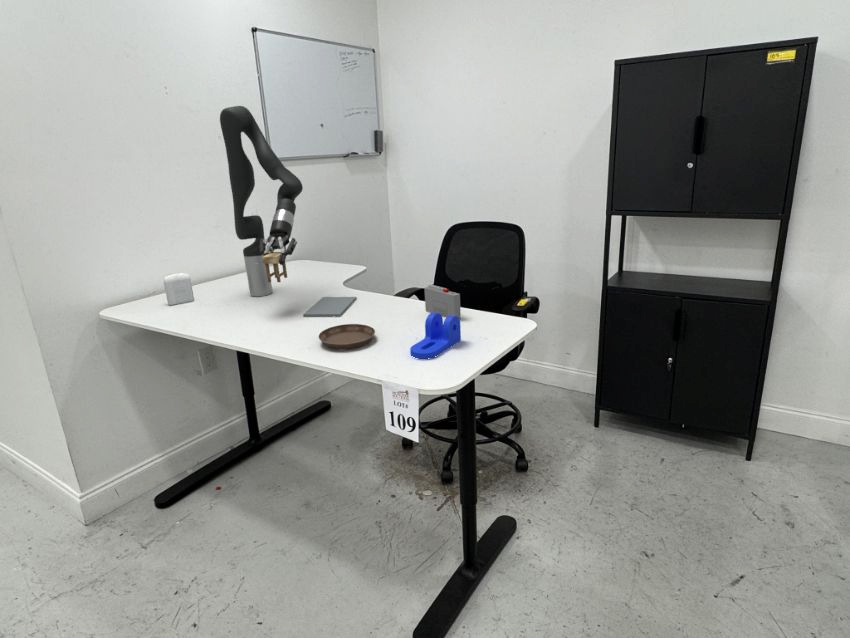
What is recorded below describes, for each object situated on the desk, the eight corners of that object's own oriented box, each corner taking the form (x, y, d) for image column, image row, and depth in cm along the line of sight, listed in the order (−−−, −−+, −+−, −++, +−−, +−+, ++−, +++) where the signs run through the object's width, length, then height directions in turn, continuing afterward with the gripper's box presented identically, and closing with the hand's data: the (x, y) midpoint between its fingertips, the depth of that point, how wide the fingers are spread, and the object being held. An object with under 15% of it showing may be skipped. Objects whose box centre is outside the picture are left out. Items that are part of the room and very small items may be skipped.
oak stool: (266, 282, 188) (262, 257, 185) (275, 276, 196) (272, 252, 193) (279, 282, 188) (276, 256, 184) (288, 276, 195) (285, 251, 192)
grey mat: (323, 299, 212) (323, 297, 212) (356, 299, 210) (356, 296, 210) (303, 316, 192) (303, 314, 191) (340, 316, 190) (339, 314, 189)
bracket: (438, 336, 165) (436, 309, 163) (460, 341, 161) (459, 313, 158) (405, 357, 151) (403, 327, 149) (429, 362, 147) (427, 332, 144)
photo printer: (193, 299, 224) (187, 270, 220) (195, 301, 220) (189, 272, 216) (167, 304, 218) (161, 275, 214) (169, 306, 215) (162, 277, 211)
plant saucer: (386, 340, 165) (386, 331, 164) (339, 357, 154) (338, 347, 153) (355, 328, 178) (354, 320, 177) (309, 343, 167) (308, 334, 166)
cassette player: (460, 318, 181) (459, 291, 177) (454, 320, 179) (453, 292, 176) (431, 309, 192) (430, 283, 189) (425, 311, 191) (424, 285, 187)
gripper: (260, 219, 193) (249, 258, 186) (296, 218, 191) (288, 258, 183) (268, 231, 200) (259, 269, 192) (304, 230, 197) (295, 269, 190)
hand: (273, 263), depth 188 cm, fingers closed on oak stool, 5 cm apart
